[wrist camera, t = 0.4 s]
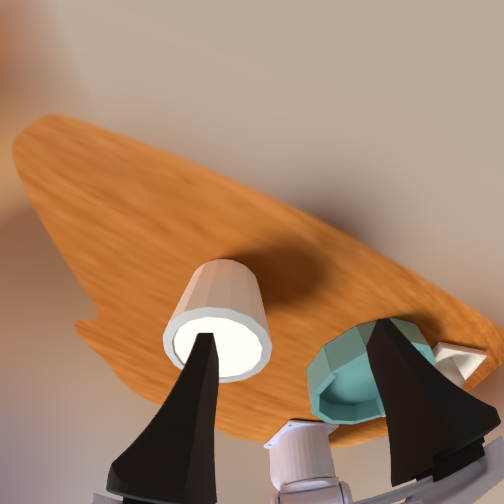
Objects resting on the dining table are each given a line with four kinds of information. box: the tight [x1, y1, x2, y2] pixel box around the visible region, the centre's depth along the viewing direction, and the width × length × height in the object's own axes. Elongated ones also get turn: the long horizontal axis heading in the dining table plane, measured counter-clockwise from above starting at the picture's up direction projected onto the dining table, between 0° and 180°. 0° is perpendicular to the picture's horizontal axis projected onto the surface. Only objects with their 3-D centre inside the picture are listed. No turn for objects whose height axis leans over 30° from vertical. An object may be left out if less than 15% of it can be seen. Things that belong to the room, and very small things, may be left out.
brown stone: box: [434, 357, 465, 389], centre depth 27 cm, size 5×5×4 cm
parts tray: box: [381, 342, 487, 417], centre depth 30 cm, size 14×13×1 cm
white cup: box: [163, 259, 272, 383], centre depth 20 cm, size 7×7×7 cm
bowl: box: [306, 317, 436, 424], centre depth 26 cm, size 14×14×4 cm
